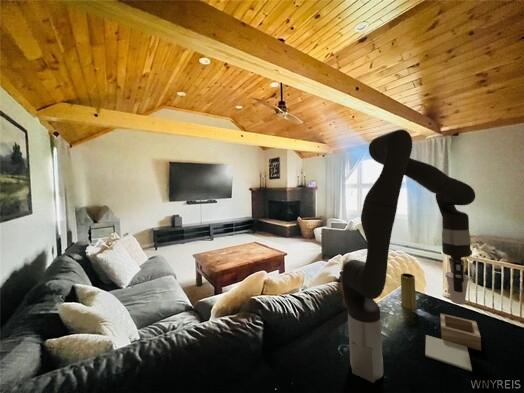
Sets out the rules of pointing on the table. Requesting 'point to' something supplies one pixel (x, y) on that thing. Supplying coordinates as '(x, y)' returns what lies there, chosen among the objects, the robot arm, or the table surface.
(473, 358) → the table surface
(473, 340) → the sleeve
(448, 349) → the mat
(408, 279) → the vase
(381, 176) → the robot arm
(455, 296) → the smoothie
